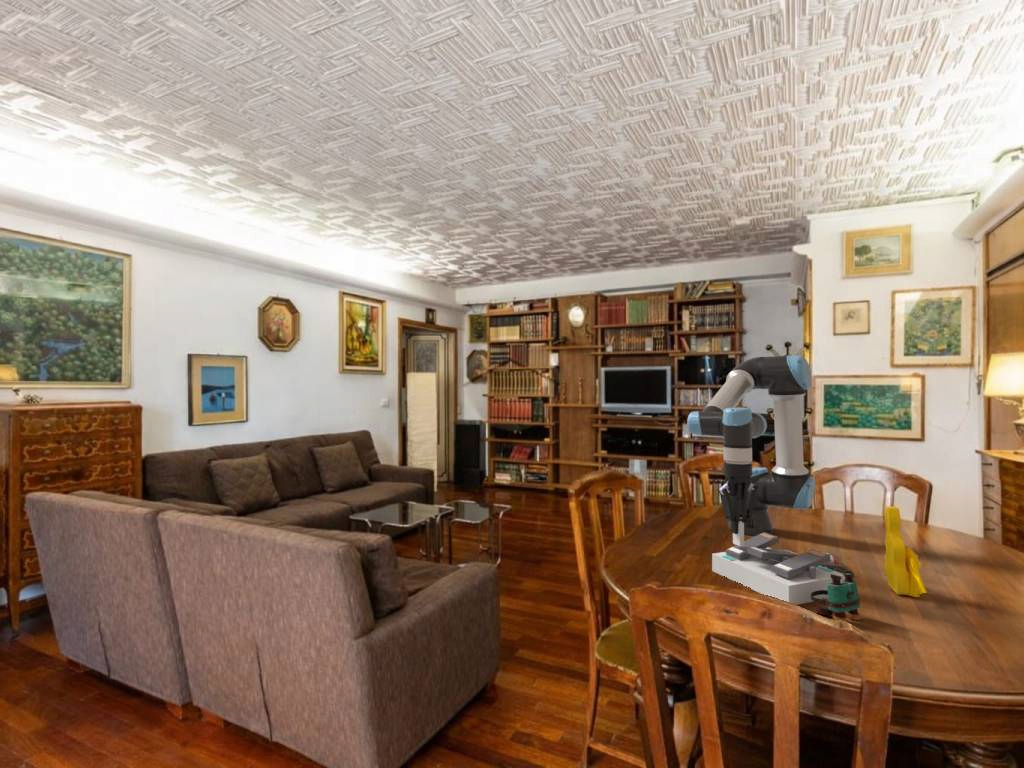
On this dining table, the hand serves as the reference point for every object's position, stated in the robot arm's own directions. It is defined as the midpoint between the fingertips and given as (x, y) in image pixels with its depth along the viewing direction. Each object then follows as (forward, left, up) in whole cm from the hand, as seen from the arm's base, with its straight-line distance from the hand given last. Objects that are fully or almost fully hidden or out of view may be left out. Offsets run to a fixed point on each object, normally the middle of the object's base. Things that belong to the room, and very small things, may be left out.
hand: (738, 544), depth 146 cm
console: (-5, +8, -9) cm, 13 cm away
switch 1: (-5, 0, -1) cm, 5 cm away
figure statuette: (-30, +25, -9) cm, 40 cm away
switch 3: (-5, +16, -1) cm, 17 cm away
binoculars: (-1, +28, -9) cm, 29 cm away
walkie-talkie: (-25, +7, -9) cm, 28 cm away
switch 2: (-5, +8, -1) cm, 10 cm away
